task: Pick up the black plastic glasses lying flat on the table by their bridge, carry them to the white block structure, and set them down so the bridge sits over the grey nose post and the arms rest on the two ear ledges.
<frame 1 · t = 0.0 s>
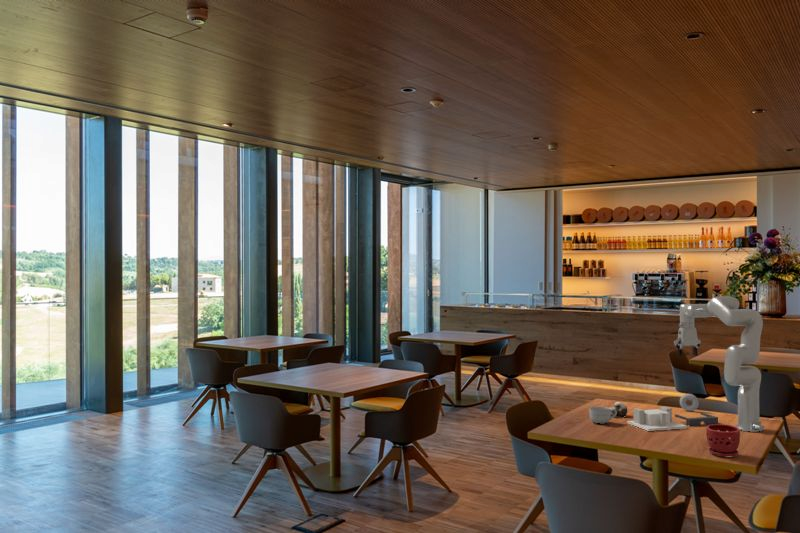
hand: (687, 355, 371), 31 cm above the table, tool pointing down, fingers open, 9 cm apart
glasses: (702, 424, 338), on the table
teacup: (603, 423, 342), on the table
plant pot: (723, 455, 282), on the table
donut: (689, 411, 369), on the table
white block structure: (655, 425, 335), on the table
skull: (617, 416, 359), on the table
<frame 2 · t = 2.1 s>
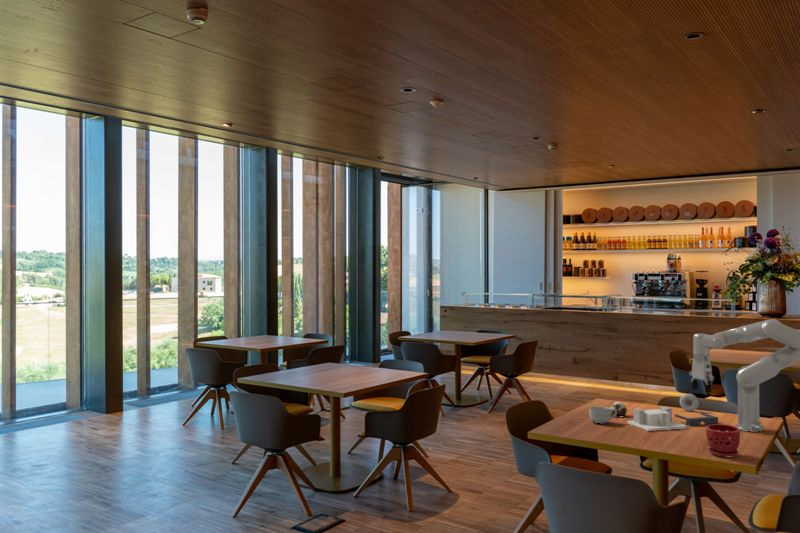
hand: (701, 390, 338), 17 cm above the table, tool pointing down, fingers open, 9 cm apart
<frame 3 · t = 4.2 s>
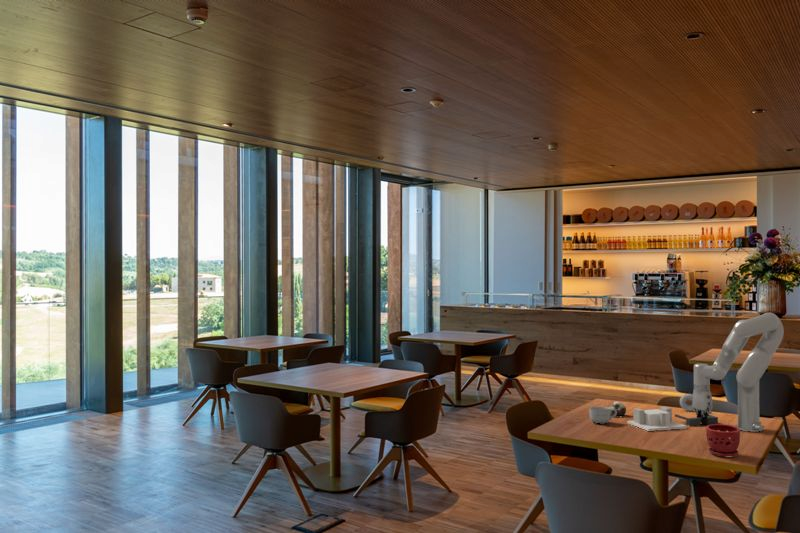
hand: (702, 423, 338), 1 cm above the table, tool pointing down, fingers closed on glasses, 2 cm apart
glasses: (702, 424, 338), on the table, touching gripper
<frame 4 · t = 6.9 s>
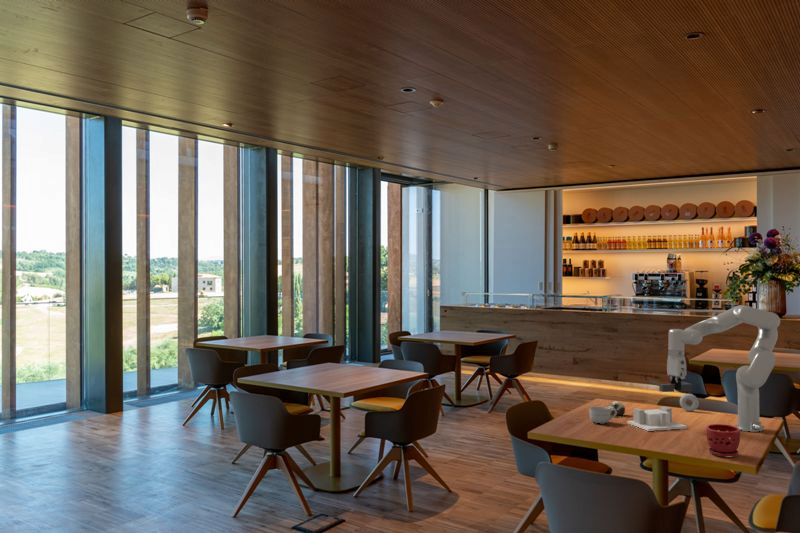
hand: (675, 389, 333), 19 cm above the table, tool pointing down, fingers closed on glasses, 2 cm apart
glasses: (675, 391, 333), point 18 cm above the table, touching gripper
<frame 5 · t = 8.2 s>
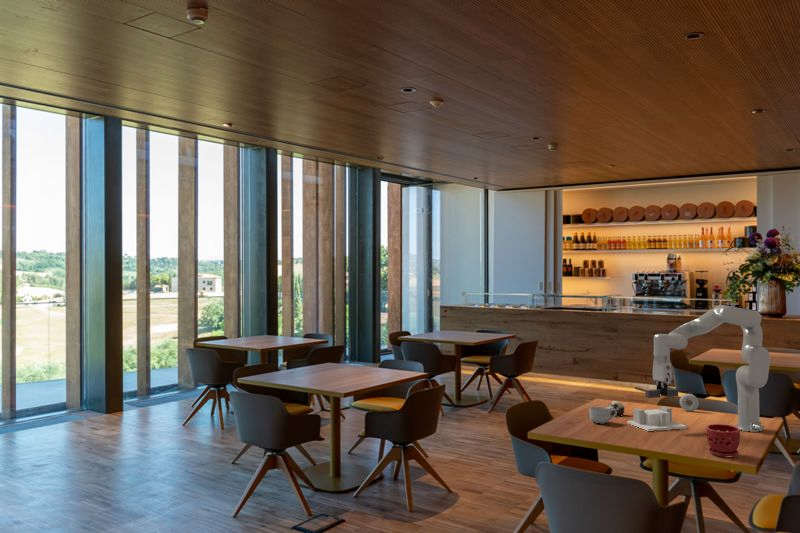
hand: (661, 394, 330), 17 cm above the table, tool pointing down, fingers closed on glasses, 2 cm apart
glasses: (661, 396, 330), point 16 cm above the table, touching gripper
when the fingers open (8 cm above the table, at t = 9.9 s): glasses stays where it is, resting on white block structure.
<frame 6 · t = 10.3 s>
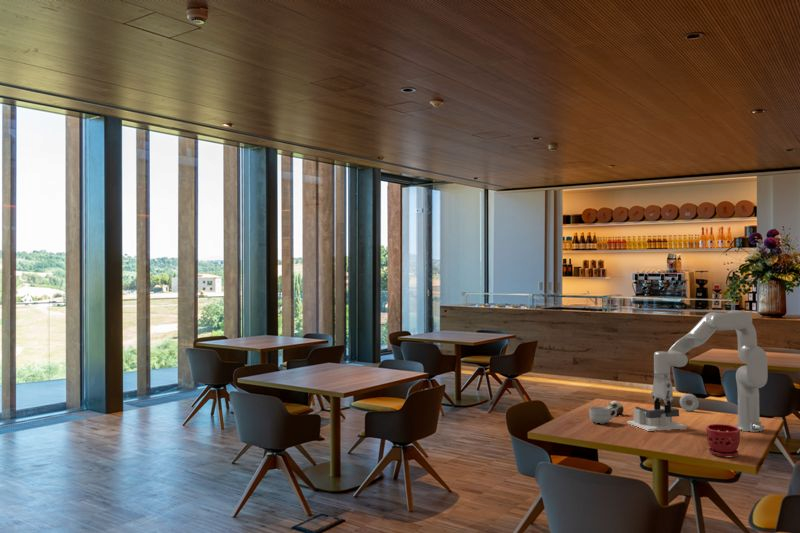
hand: (662, 411, 330), 9 cm above the table, tool pointing down, fingers open, 7 cm apart
glasses: (662, 416, 330), point 6 cm above the table, touching white block structure
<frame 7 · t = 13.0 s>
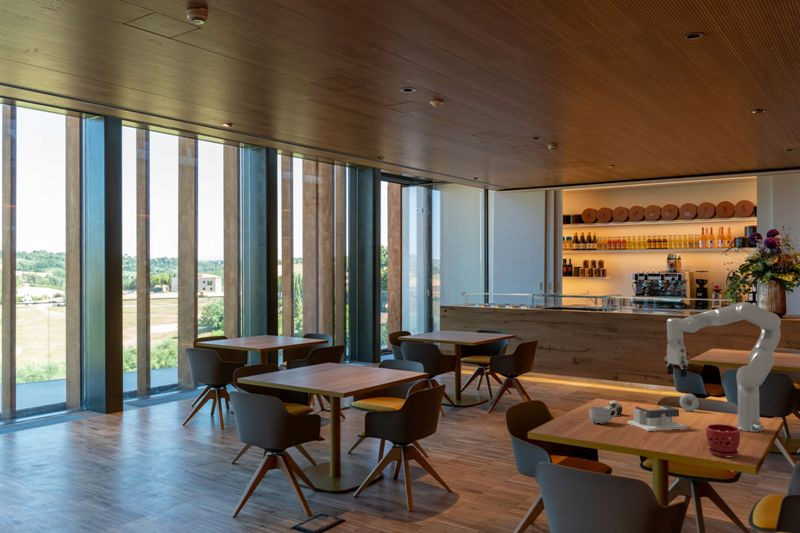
hand: (676, 375, 336), 26 cm above the table, tool pointing down, fingers open, 9 cm apart
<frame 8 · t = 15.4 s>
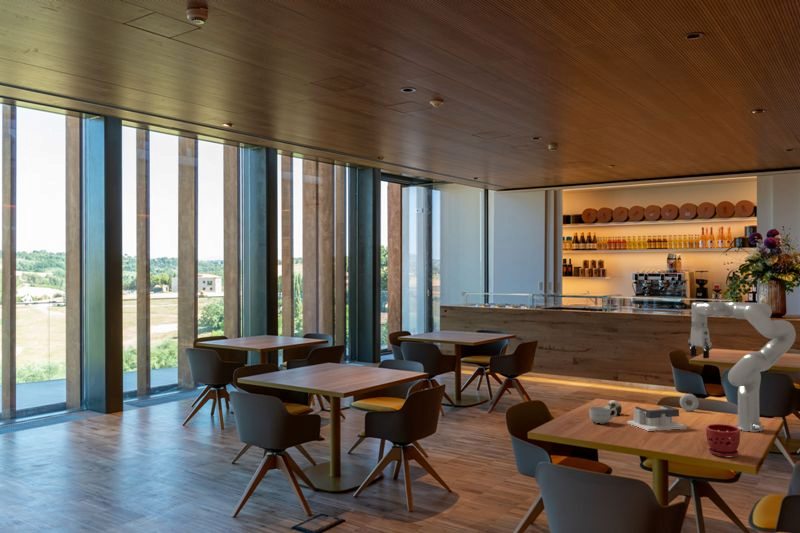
hand: (699, 357, 349), 33 cm above the table, tool pointing down, fingers open, 9 cm apart
at the end: glasses 0.0 cm from the target spot on the white block structure, point 6.0 cm above the white block structure's base; glasses tilted 0°; the gripper is holding nothing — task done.
